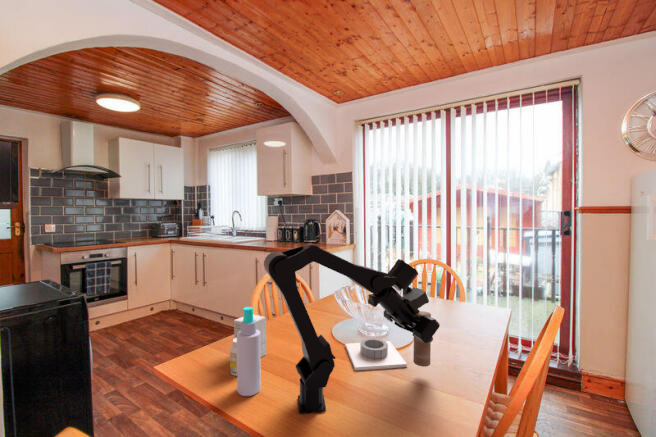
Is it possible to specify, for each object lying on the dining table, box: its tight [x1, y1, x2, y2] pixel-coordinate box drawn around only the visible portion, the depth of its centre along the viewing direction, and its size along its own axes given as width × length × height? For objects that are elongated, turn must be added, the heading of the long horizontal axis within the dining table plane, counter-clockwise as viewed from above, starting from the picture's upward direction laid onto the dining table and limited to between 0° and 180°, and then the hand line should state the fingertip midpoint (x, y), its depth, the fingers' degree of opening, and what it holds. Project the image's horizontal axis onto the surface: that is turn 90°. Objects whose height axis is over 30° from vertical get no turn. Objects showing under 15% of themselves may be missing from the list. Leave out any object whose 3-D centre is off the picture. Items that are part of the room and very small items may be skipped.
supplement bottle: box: [229, 338, 237, 377], centre depth 90 cm, size 5×5×10 cm
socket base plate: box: [345, 337, 408, 371], centre depth 100 cm, size 16×16×4 cm
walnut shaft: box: [412, 310, 432, 368], centre depth 87 cm, size 5×5×14 cm
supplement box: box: [233, 313, 267, 358], centre depth 99 cm, size 7×7×13 cm
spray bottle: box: [236, 306, 262, 397], centre depth 81 cm, size 6×6×22 cm
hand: (426, 337), depth 87 cm, fingers closed on walnut shaft, 5 cm apart
